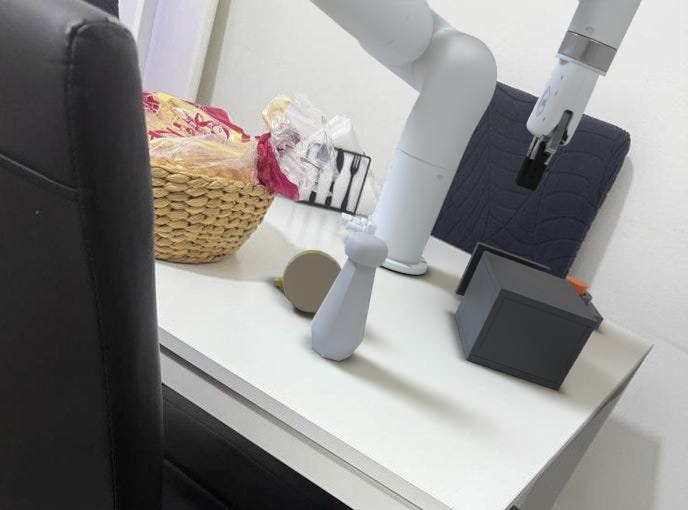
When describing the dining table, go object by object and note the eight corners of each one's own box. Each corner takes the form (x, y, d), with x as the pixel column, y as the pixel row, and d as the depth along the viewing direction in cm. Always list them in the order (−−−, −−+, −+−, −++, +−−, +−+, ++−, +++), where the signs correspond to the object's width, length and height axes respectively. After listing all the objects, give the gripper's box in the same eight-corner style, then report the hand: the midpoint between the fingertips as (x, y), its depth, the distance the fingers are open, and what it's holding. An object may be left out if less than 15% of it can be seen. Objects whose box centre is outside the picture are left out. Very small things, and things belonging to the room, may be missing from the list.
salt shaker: (316, 332, 80) (354, 221, 73) (361, 354, 80) (404, 243, 72) (296, 347, 76) (335, 229, 68) (344, 370, 75) (388, 254, 68)
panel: (537, 309, 118) (549, 287, 115) (527, 291, 125) (538, 269, 123) (597, 330, 119) (609, 309, 117) (583, 311, 126) (595, 290, 124)
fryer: (454, 315, 101) (484, 250, 96) (535, 343, 103) (569, 281, 97) (466, 359, 89) (501, 287, 83) (558, 390, 91) (598, 322, 85)
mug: (333, 295, 92) (369, 247, 84) (305, 346, 87) (340, 301, 79) (285, 262, 91) (317, 210, 82) (253, 312, 86) (284, 262, 77)
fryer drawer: (452, 281, 111) (474, 233, 106) (519, 305, 112) (543, 258, 108) (465, 325, 96) (491, 271, 92) (542, 352, 98) (571, 300, 93)
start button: (564, 291, 118) (569, 281, 117) (558, 283, 121) (564, 273, 120) (585, 299, 119) (591, 289, 118) (579, 290, 122) (585, 281, 121)
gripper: (549, 42, 105) (494, 168, 115) (573, 49, 92) (510, 189, 103) (595, 61, 106) (536, 184, 116) (624, 70, 93) (556, 207, 104)
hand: (524, 186), depth 109 cm, fingers closed
